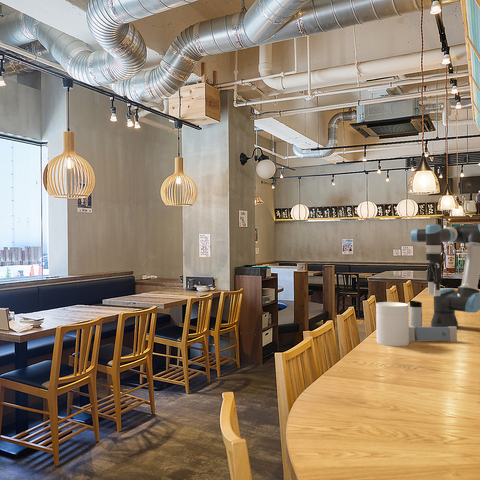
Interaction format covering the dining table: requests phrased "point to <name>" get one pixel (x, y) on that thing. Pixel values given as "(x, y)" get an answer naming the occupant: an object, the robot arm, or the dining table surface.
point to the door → (431, 333)
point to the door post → (411, 334)
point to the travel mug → (415, 313)
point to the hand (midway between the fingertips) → (434, 294)
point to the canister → (392, 323)
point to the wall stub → (453, 334)
